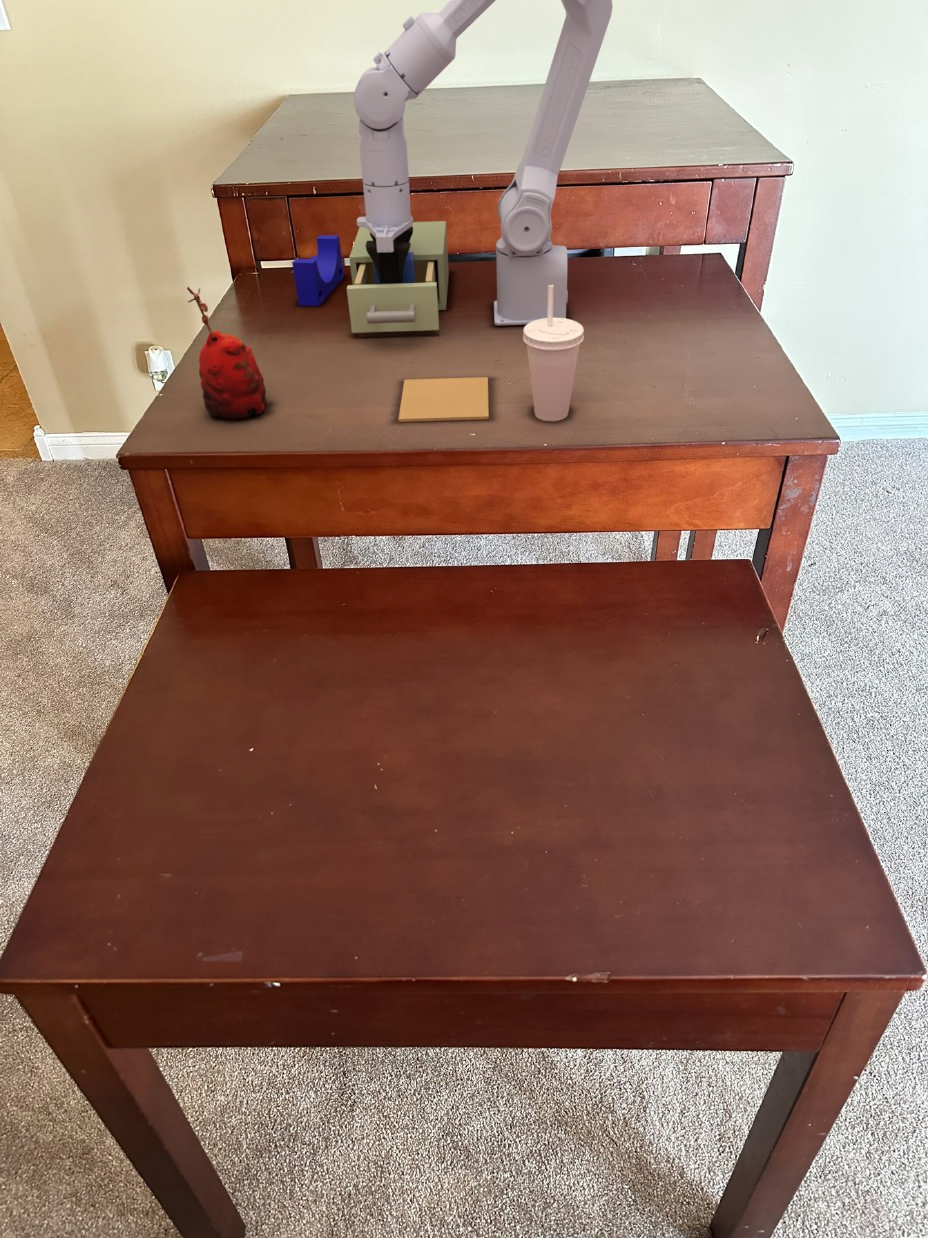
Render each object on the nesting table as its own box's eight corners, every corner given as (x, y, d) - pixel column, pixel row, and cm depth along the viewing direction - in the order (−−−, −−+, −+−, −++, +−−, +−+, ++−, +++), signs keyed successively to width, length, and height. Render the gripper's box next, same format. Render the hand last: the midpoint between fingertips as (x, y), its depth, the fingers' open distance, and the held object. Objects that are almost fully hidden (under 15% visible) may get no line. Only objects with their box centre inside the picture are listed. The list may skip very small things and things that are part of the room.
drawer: (437, 342, 114) (435, 297, 110) (348, 345, 114) (342, 300, 110) (442, 292, 127) (439, 250, 123) (362, 295, 127) (357, 253, 124)
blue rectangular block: (417, 300, 122) (413, 251, 118) (415, 310, 119) (411, 260, 115) (380, 301, 122) (375, 252, 118) (378, 311, 120) (373, 261, 115)
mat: (488, 379, 107) (488, 376, 107) (488, 419, 99) (488, 416, 99) (404, 382, 107) (404, 379, 107) (398, 421, 99) (398, 418, 99)
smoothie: (552, 394, 103) (556, 271, 94) (592, 413, 99) (599, 287, 90) (510, 412, 100) (510, 287, 91) (549, 432, 96) (553, 303, 87)
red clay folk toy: (281, 410, 103) (256, 278, 93) (228, 431, 99) (197, 296, 90) (245, 390, 107) (218, 262, 98) (193, 410, 104) (160, 279, 94)
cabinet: (445, 309, 124) (442, 253, 120) (355, 312, 125) (349, 256, 120) (448, 273, 136) (446, 220, 131) (366, 276, 136) (360, 223, 131)
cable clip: (316, 275, 137) (310, 234, 133) (344, 276, 136) (339, 235, 132) (288, 304, 128) (281, 261, 124) (318, 305, 127) (312, 262, 123)
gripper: (359, 166, 116) (369, 272, 125) (347, 197, 105) (358, 311, 114) (413, 165, 116) (419, 271, 125) (406, 196, 105) (413, 310, 114)
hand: (393, 290), depth 120 cm, fingers closed on blue rectangular block, 3 cm apart
